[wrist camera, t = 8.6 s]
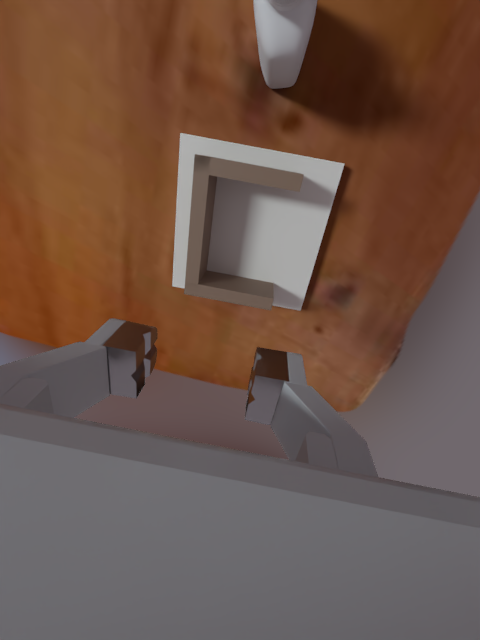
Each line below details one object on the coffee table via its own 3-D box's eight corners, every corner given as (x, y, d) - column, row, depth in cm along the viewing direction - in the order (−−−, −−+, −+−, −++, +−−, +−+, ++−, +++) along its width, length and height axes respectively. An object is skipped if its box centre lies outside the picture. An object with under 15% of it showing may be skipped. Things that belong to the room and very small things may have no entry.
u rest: (183, 134, 25) (164, 127, 21) (342, 163, 25) (357, 163, 21) (175, 282, 32) (159, 301, 27) (299, 306, 32) (304, 329, 27)
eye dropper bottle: (327, 11, 21) (385, -148, 10) (287, 100, 23) (301, 46, 13) (273, -23, 20) (276, -232, 10) (239, 71, 23) (211, -10, 12)
